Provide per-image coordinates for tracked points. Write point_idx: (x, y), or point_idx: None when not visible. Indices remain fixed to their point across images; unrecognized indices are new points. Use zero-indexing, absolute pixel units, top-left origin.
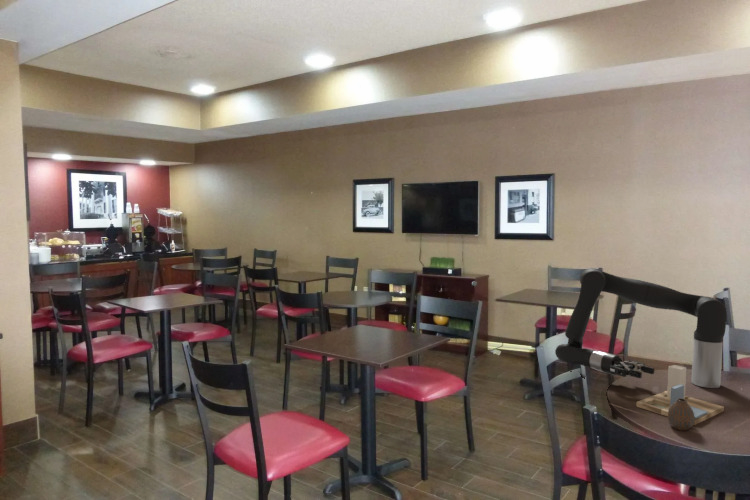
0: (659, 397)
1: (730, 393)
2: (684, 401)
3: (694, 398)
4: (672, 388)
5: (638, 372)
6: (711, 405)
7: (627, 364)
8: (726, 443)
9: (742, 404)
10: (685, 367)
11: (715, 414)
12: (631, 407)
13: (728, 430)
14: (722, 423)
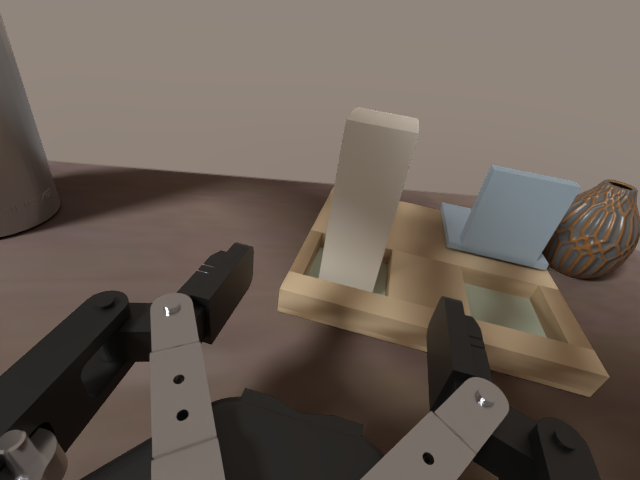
0: (421, 304)
1: (110, 180)
2: (622, 183)
3: (315, 223)
4: (577, 187)
5: (461, 314)
6: None
7: (233, 476)
8: None
9: (220, 175)
10: (359, 108)
11: None
12: (615, 419)
13: None
14: None
